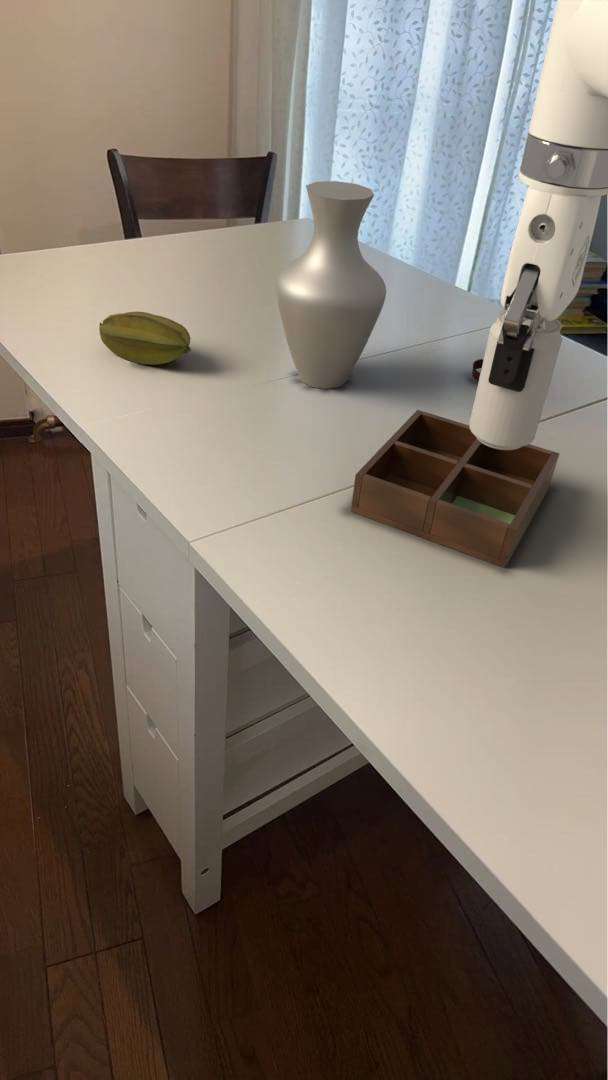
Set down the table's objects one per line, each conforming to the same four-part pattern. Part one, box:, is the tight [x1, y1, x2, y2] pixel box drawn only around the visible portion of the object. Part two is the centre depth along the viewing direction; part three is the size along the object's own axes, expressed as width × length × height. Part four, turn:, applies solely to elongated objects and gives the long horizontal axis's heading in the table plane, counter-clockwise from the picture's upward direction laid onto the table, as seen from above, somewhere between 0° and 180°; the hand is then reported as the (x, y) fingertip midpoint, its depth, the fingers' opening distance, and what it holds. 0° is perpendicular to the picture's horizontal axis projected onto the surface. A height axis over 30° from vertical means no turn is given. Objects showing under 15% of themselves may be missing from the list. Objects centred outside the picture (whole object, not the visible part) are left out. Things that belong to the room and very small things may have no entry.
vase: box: [274, 180, 387, 390], centre depth 104 cm, size 14×14×25 cm
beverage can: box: [468, 309, 563, 450], centre depth 75 cm, size 6×6×12 cm
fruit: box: [98, 311, 192, 366], centre depth 110 cm, size 11×12×7 cm
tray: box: [350, 409, 560, 569], centre depth 88 cm, size 17×17×5 cm
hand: (517, 370), depth 74 cm, fingers closed on beverage can, 6 cm apart
